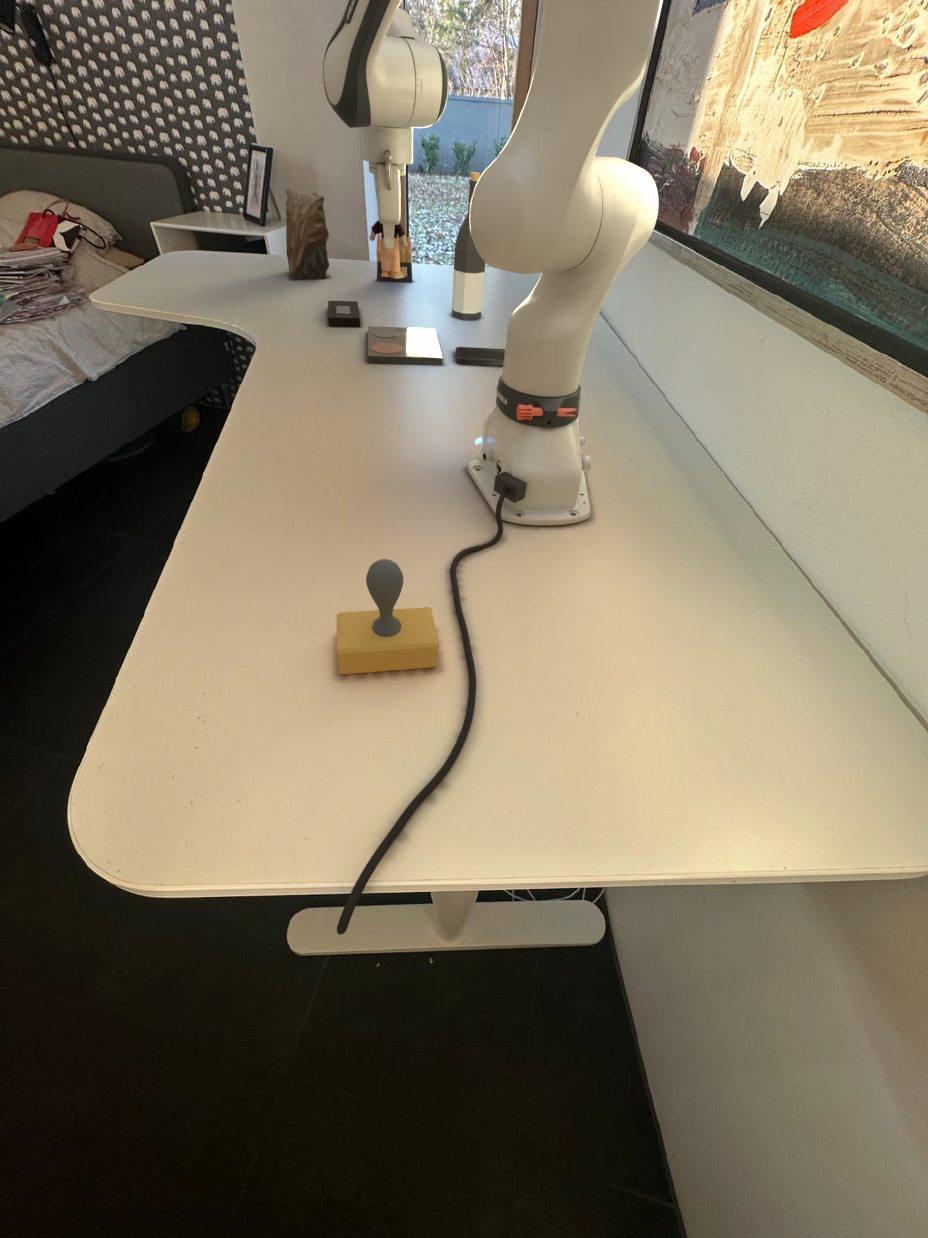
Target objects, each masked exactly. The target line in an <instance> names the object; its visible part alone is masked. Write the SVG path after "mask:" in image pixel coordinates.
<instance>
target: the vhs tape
mask: <svg viewBox="0 0 928 1238" xmlns="http://www.w3.org/2000/svg"><path fill="white" fill-rule="evenodd" d="M327 320H328V327H347V328H348V327H352V328H353V327H356V328H361V317H360V309H359V302H358V301H355V300H353V301H351V300H327Z"/></svg>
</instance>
